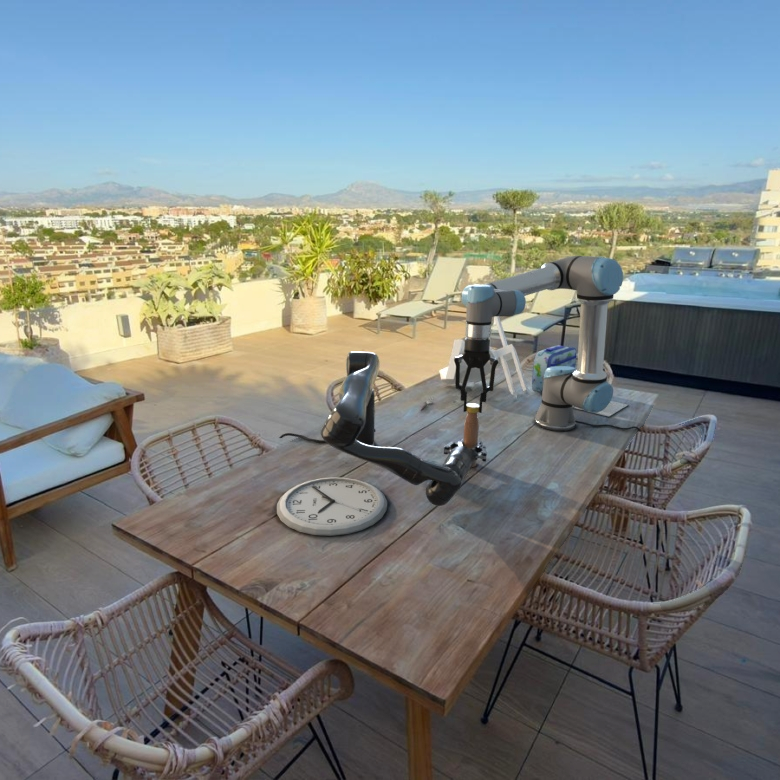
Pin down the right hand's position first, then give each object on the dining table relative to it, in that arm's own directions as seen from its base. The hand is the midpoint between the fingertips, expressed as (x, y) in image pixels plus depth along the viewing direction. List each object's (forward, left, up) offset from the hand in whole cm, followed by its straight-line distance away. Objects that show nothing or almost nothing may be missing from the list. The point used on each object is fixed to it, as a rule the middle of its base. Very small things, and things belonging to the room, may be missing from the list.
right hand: (472, 410), depth 164 cm
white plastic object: (-7, -79, -18) cm, 81 cm away
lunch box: (-41, -88, -18) cm, 99 cm away
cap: (0, 0, +2) cm, 2 cm away
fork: (+17, -55, -18) cm, 60 cm away
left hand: (-1, -3, -12) cm, 12 cm away
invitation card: (-58, -67, -18) cm, 91 cm away
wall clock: (+38, +32, -18) cm, 53 cm away
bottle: (0, 0, -18) cm, 18 cm away
